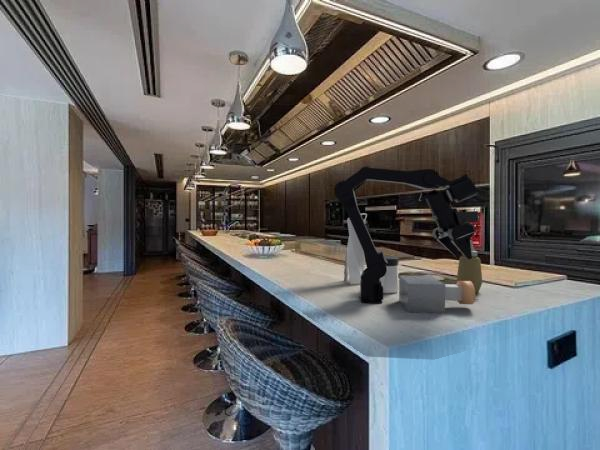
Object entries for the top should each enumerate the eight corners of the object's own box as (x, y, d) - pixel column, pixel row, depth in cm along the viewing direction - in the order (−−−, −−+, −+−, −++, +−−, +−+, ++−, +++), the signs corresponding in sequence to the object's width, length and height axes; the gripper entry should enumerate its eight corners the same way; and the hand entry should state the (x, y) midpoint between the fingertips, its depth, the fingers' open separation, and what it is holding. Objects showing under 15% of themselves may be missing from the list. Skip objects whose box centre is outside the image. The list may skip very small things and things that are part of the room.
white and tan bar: (423, 305, 91) (423, 282, 91) (417, 299, 98) (417, 278, 98) (475, 307, 90) (475, 283, 90) (465, 300, 96) (466, 279, 96)
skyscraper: (363, 281, 132) (364, 213, 131) (368, 285, 124) (369, 213, 123) (343, 281, 131) (343, 213, 130) (347, 285, 123) (347, 213, 122)
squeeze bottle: (468, 295, 108) (469, 241, 108) (451, 289, 116) (452, 240, 115) (487, 293, 110) (488, 241, 110) (469, 288, 118) (470, 239, 118)
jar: (403, 291, 114) (404, 257, 113) (390, 294, 108) (390, 259, 108) (382, 286, 120) (383, 255, 120) (368, 290, 115) (369, 256, 115)
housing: (407, 312, 89) (407, 283, 89) (399, 300, 101) (399, 275, 101) (444, 313, 88) (445, 284, 88) (431, 301, 100) (432, 276, 100)
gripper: (481, 194, 85) (507, 248, 84) (456, 201, 104) (476, 245, 103) (441, 211, 86) (466, 264, 85) (423, 215, 105) (443, 259, 104)
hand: (463, 257), depth 94 cm, fingers open, 9 cm apart
